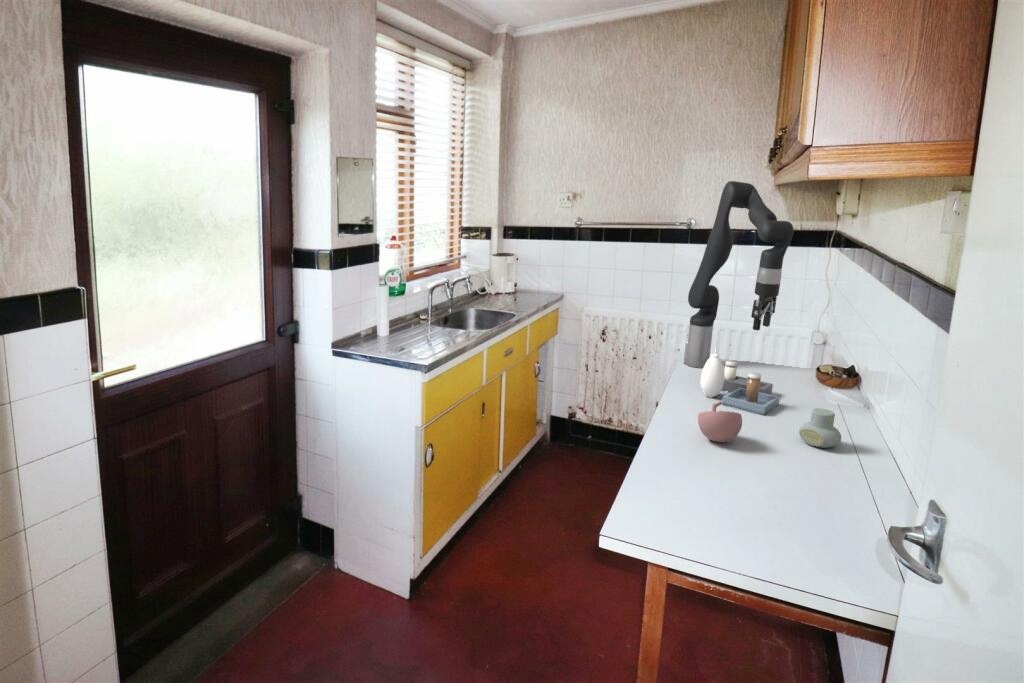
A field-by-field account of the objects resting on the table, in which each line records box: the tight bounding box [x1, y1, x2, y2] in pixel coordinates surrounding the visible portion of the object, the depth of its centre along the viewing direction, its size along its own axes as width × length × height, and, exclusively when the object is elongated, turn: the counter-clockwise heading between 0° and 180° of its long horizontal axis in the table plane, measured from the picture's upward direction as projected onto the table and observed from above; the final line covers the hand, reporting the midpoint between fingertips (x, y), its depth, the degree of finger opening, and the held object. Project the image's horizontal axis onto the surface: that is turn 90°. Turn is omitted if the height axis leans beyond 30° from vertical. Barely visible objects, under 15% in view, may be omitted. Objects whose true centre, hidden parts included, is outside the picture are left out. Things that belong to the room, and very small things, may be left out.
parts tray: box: [721, 387, 781, 416], centre depth 209 cm, size 14×14×3 cm
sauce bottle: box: [700, 346, 725, 398], centre depth 215 cm, size 8×8×18 cm
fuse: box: [724, 360, 738, 381], centre depth 226 cm, size 4×4×10 cm
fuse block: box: [721, 375, 774, 395], centre depth 224 cm, size 18×9×4 cm, turn 49°
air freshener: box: [798, 407, 842, 449], centre depth 177 cm, size 11×8×10 cm
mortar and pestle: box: [697, 400, 743, 443], centre depth 177 cm, size 12×12×11 cm
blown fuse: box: [745, 372, 762, 404], centre depth 208 cm, size 4×4×10 cm
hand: (761, 328), depth 212 cm, fingers open, 8 cm apart
